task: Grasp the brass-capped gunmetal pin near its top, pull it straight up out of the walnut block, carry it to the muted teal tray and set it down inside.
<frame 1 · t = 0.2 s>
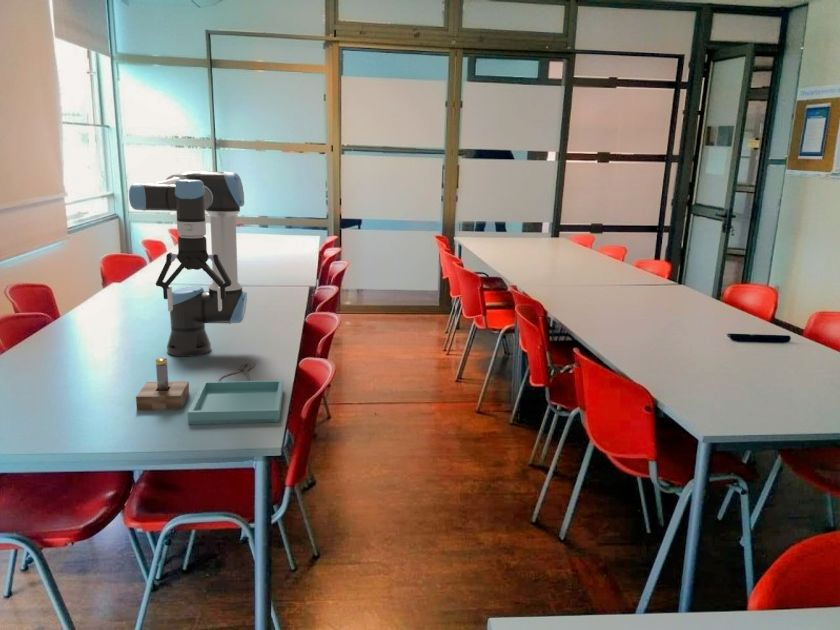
hand: (195, 310, 185), 27 cm above the table, tool pointing down, fingers open, 13 cm apart
pin block: (164, 401, 189), on the table
pin: (162, 380, 187), in the pin block
tray: (239, 406, 188), on the table
pliers: (237, 375, 215), on the table
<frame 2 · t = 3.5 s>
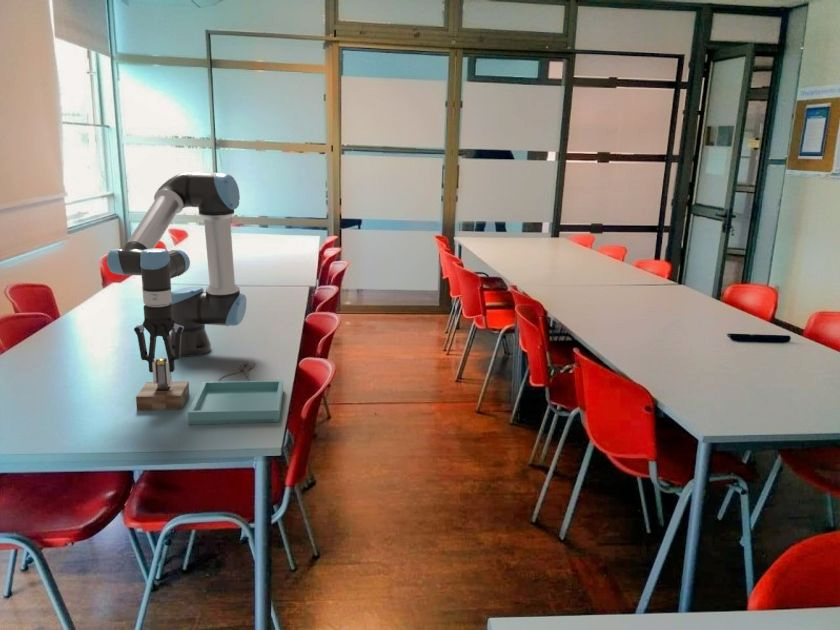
hand: (162, 382, 188), 6 cm above the table, tool pointing down, fingers closed on pin, 3 cm apart
pin: (162, 380, 187), in the pin block, touching gripper
everything else where it was.
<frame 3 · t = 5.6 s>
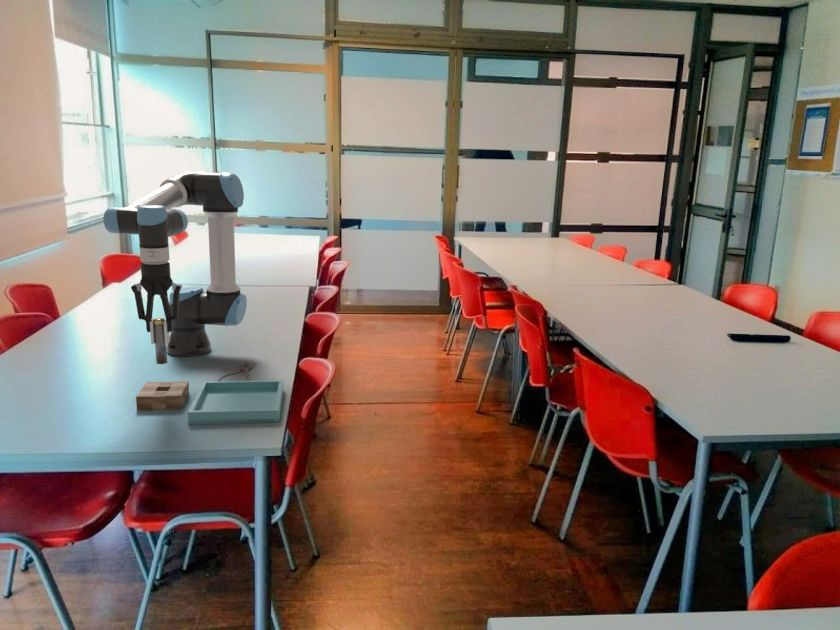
hand: (160, 342, 185), 18 cm above the table, tool pointing down, fingers closed on pin, 3 cm apart
pin: (160, 341, 185), point 18 cm above the table, touching gripper
everything else where it was.
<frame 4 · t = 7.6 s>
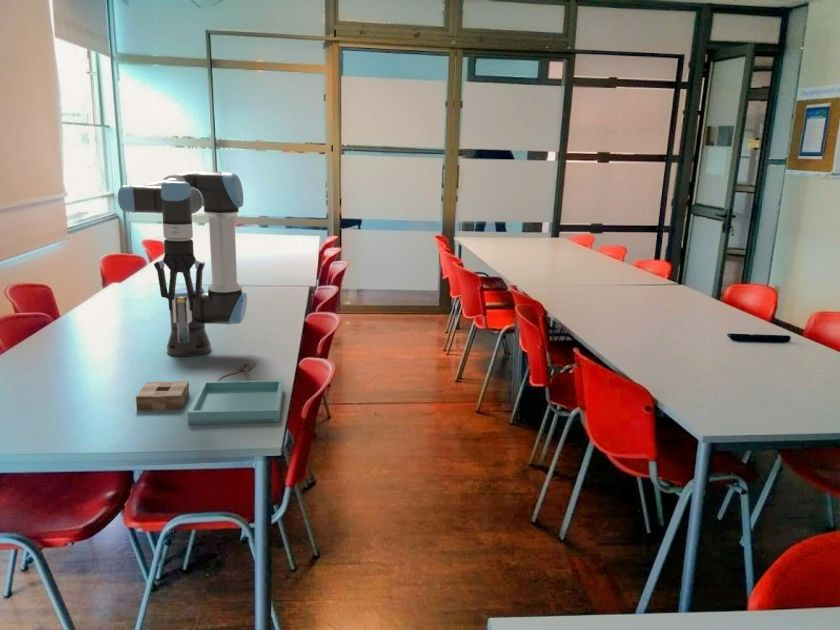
hand: (182, 321, 182), 25 cm above the table, tool pointing down, fingers closed on pin, 3 cm apart
pin: (182, 320, 182), point 25 cm above the table, touching gripper
everything else where it was.
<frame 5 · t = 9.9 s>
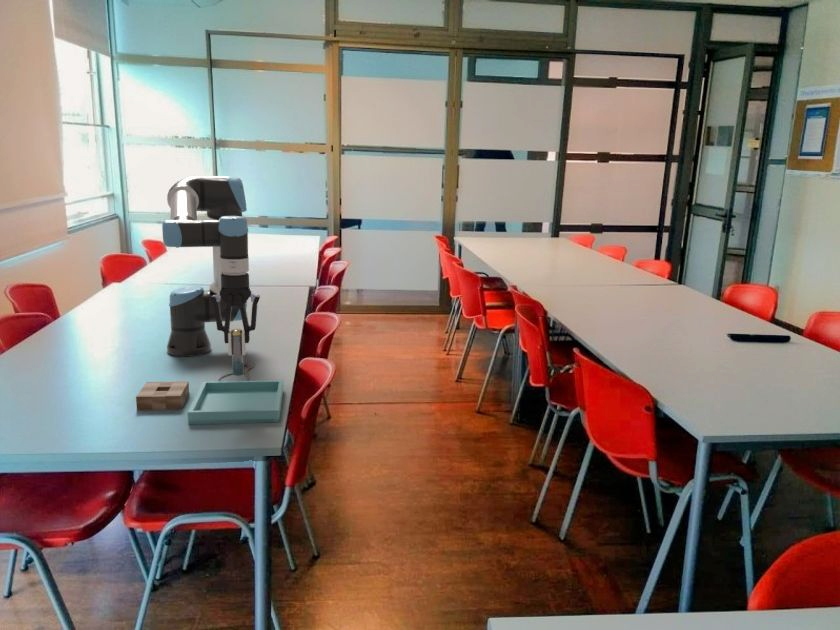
hand: (237, 353, 184), 16 cm above the table, tool pointing down, fingers closed on pin, 3 cm apart
pin: (237, 352, 183), point 17 cm above the table, touching gripper
everything else where it was.
when the fingers open (8 cm above the table, at t = 11.7 s): pin stays where it is, resting on tray.
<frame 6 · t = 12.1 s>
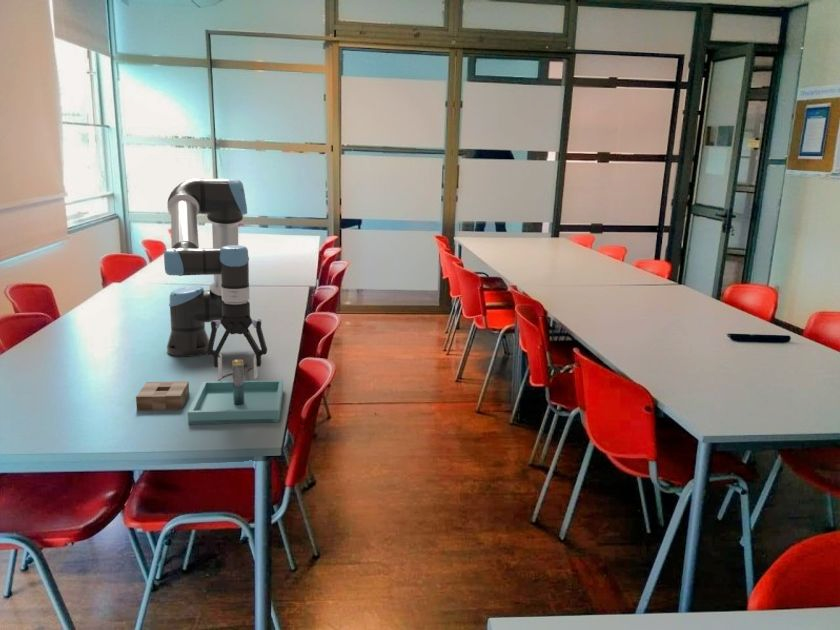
hand: (238, 377, 186), 9 cm above the table, tool pointing down, fingers open, 9 cm apart
pin: (238, 382, 186), in the tray, point 8 cm above the table
everything else where it was.
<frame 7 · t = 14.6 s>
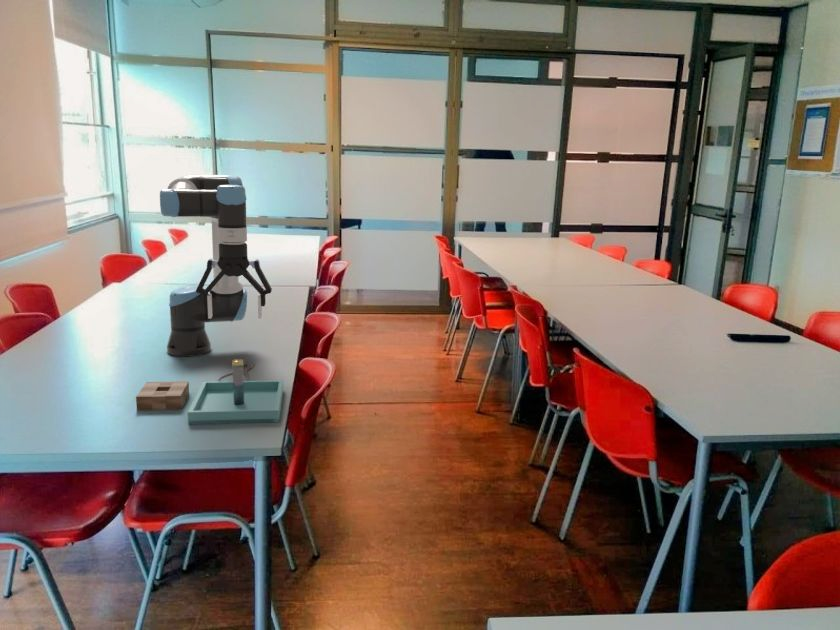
hand: (235, 317, 182), 27 cm above the table, tool pointing down, fingers open, 13 cm apart
nothing on the table moved.
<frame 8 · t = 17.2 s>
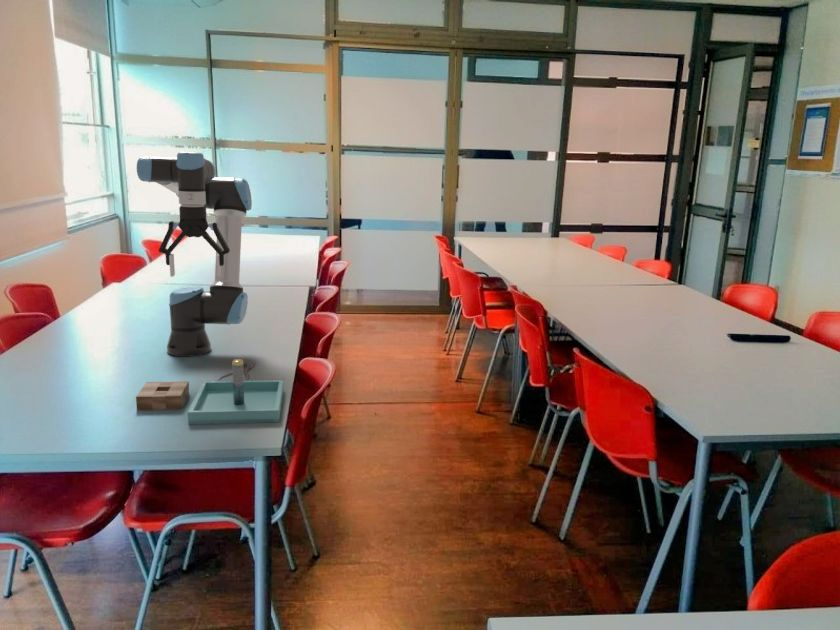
hand: (196, 276, 196), 35 cm above the table, tool pointing down, fingers open, 13 cm apart
nothing on the table moved.
at the end: pin inside the target area on the tray (0.0 cm from its centre), point 7.5 cm above the tray's base; the gripper is holding nothing; pin touching tray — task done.
